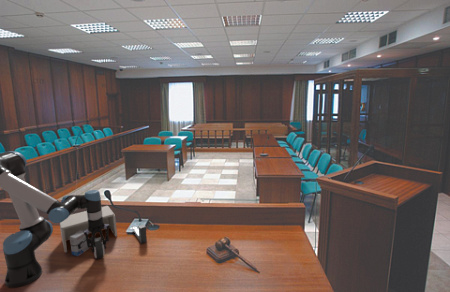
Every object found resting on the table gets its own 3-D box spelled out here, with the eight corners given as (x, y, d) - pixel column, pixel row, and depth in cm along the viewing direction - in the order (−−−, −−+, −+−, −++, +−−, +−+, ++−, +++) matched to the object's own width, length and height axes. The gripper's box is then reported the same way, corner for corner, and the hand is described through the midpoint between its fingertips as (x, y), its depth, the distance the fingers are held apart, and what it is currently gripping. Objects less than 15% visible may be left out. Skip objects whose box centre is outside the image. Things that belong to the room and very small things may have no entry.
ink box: (77, 256, 151) (75, 238, 148) (71, 254, 152) (69, 236, 150) (89, 248, 158) (87, 231, 156) (83, 247, 160) (81, 229, 158)
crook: (103, 257, 148) (101, 239, 146) (79, 265, 141) (76, 247, 139) (96, 240, 166) (95, 224, 164) (74, 246, 159) (72, 230, 157)
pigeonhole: (117, 236, 172) (115, 213, 169) (64, 252, 154) (61, 228, 151) (111, 226, 185) (108, 205, 182) (62, 240, 168) (58, 217, 164)
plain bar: (146, 242, 164) (145, 226, 162) (141, 244, 162) (140, 228, 160) (136, 230, 180) (135, 215, 178) (131, 231, 178) (130, 216, 176)
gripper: (109, 211, 152) (113, 247, 156) (77, 219, 142) (82, 257, 147) (112, 215, 146) (116, 252, 151) (79, 224, 136) (84, 264, 141)
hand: (99, 255), depth 149 cm, fingers closed on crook, 4 cm apart
